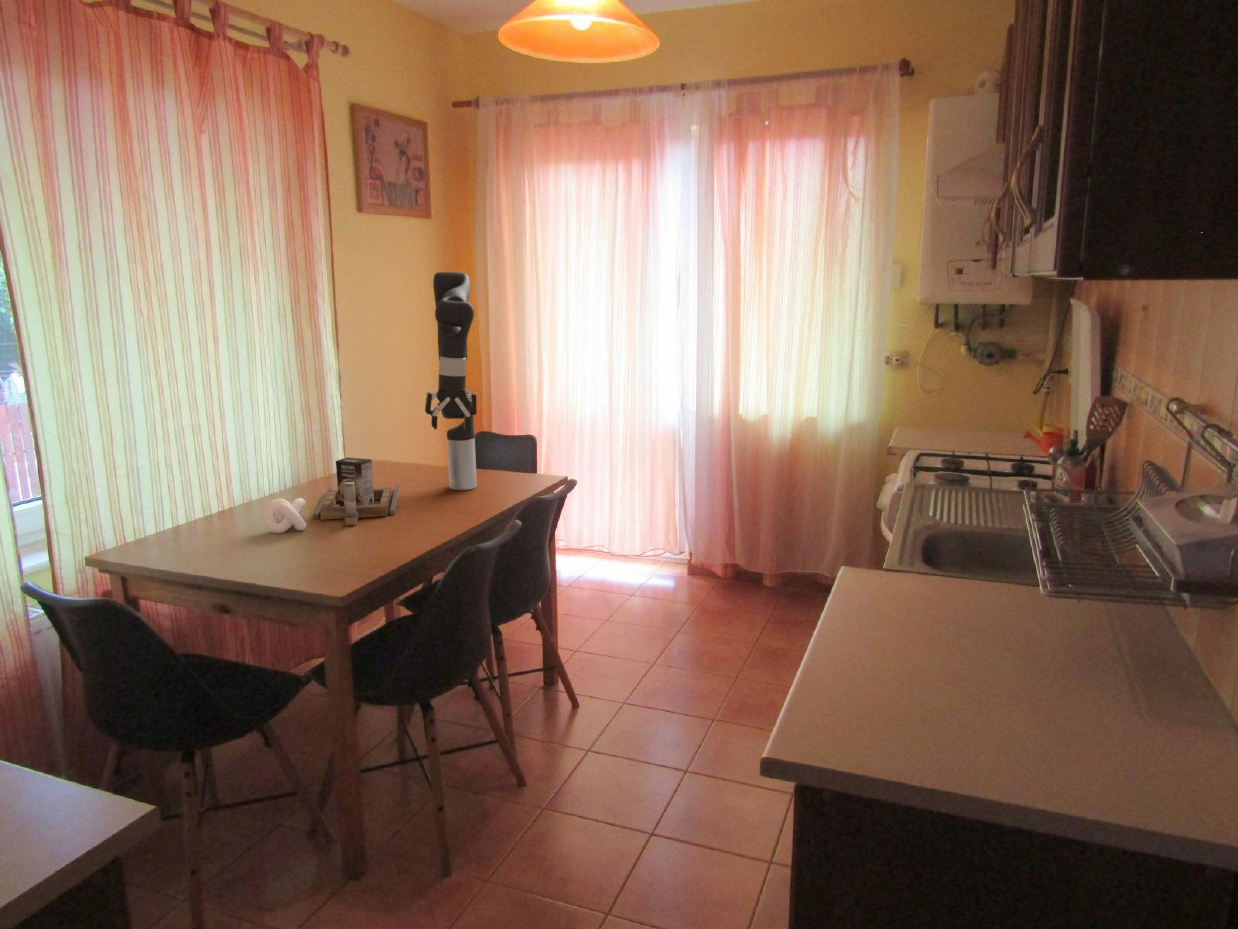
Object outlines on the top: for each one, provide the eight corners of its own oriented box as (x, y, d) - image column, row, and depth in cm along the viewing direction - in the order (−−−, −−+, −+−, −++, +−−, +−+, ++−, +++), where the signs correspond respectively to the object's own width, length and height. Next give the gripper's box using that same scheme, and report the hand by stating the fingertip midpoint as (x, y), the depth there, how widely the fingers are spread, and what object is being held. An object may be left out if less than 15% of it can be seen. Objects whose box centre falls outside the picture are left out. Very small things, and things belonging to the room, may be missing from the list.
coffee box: (338, 511, 268) (334, 461, 264) (350, 506, 274) (346, 456, 270) (364, 513, 265) (360, 462, 262) (375, 508, 271) (372, 458, 268)
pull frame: (331, 499, 281) (328, 463, 279) (391, 496, 285) (388, 460, 282) (316, 527, 251) (313, 487, 248) (384, 523, 254) (381, 483, 251)
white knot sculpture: (262, 538, 242) (259, 507, 240) (267, 526, 253) (264, 496, 251) (305, 534, 245) (302, 504, 243) (308, 523, 256) (305, 493, 254)
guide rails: (328, 493, 290) (328, 488, 290) (399, 489, 295) (399, 485, 294) (314, 519, 260) (313, 514, 259) (394, 514, 264) (393, 509, 264)
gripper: (475, 371, 249) (472, 426, 253) (425, 369, 244) (423, 425, 248) (479, 375, 242) (477, 432, 246) (428, 374, 237) (426, 431, 241)
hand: (450, 428), depth 247 cm, fingers open, 8 cm apart
